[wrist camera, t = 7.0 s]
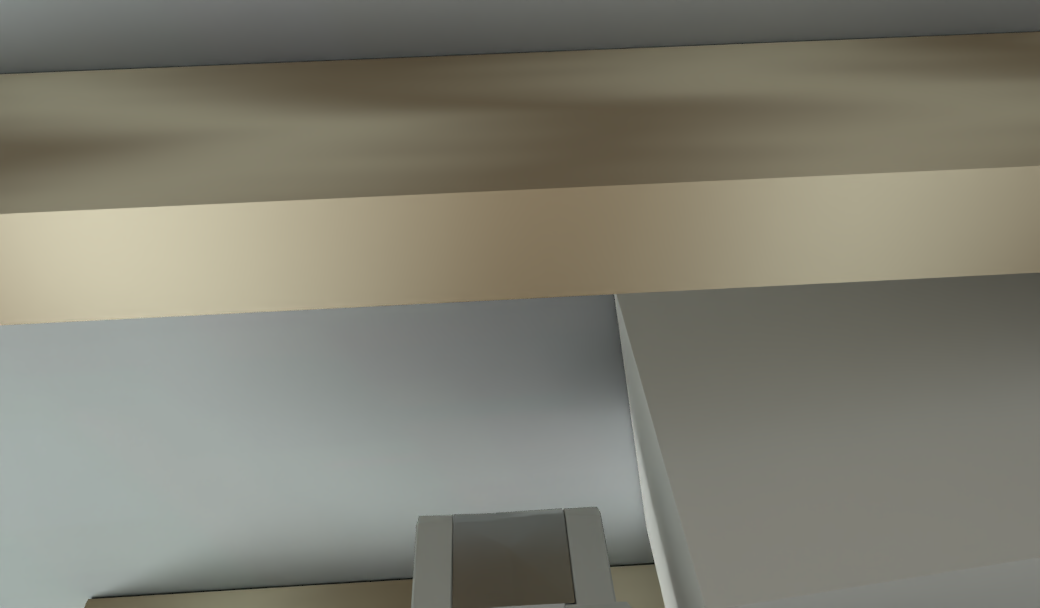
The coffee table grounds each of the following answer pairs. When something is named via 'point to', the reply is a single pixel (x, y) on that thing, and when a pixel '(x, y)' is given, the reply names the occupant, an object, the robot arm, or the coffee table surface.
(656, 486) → the white cube
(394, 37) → the coffee table surface
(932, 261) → the cradle stand
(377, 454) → the coffee table surface
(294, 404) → the coffee table surface
